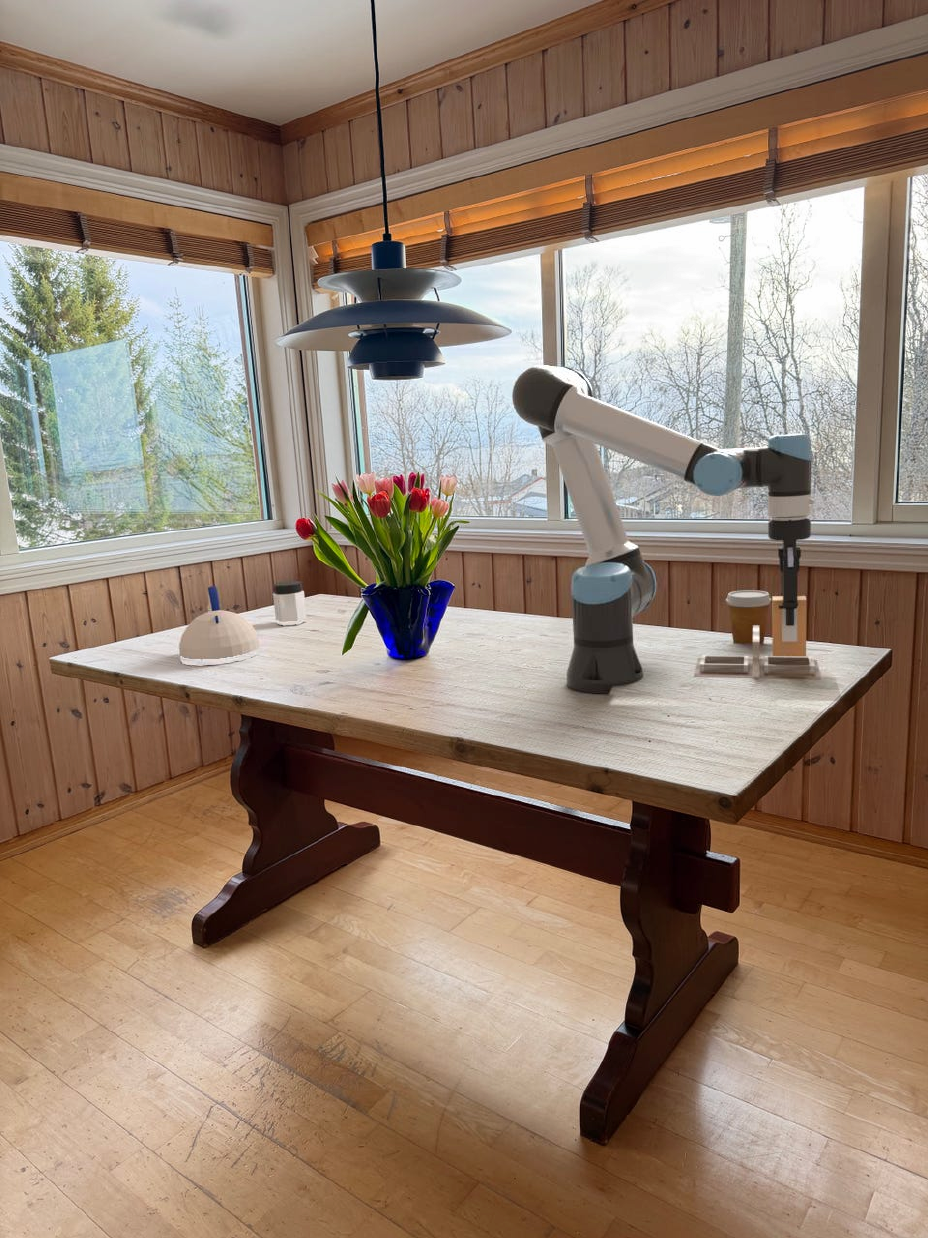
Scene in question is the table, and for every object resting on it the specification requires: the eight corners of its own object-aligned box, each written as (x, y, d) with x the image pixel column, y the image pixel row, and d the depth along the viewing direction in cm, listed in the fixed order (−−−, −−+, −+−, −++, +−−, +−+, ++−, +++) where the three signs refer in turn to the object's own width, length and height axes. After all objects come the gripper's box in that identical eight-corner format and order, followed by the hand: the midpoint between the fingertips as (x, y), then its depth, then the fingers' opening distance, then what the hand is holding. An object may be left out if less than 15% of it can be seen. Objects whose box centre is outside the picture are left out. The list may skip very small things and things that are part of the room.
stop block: (806, 656, 166) (806, 600, 164) (772, 656, 168) (772, 600, 166) (805, 651, 170) (805, 596, 168) (772, 650, 172) (772, 596, 169)
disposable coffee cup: (773, 651, 188) (774, 597, 186) (728, 652, 190) (727, 598, 188) (767, 640, 197) (768, 589, 195) (724, 641, 199) (723, 590, 197)
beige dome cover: (257, 642, 234) (249, 576, 230) (265, 659, 214) (256, 587, 210) (179, 653, 228) (169, 585, 224) (179, 671, 208) (169, 597, 204)
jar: (272, 623, 257) (268, 583, 255) (297, 619, 262) (293, 579, 259) (285, 627, 250) (280, 586, 247) (311, 622, 254) (306, 582, 252)
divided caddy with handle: (821, 686, 162) (821, 642, 160) (693, 683, 169) (693, 641, 167) (816, 666, 174) (817, 625, 173) (698, 664, 182) (697, 625, 180)
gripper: (813, 521, 154) (812, 649, 159) (808, 512, 170) (807, 628, 175) (768, 523, 157) (769, 649, 162) (767, 513, 173) (768, 628, 177)
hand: (789, 638), depth 168 cm, fingers closed on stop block, 4 cm apart
